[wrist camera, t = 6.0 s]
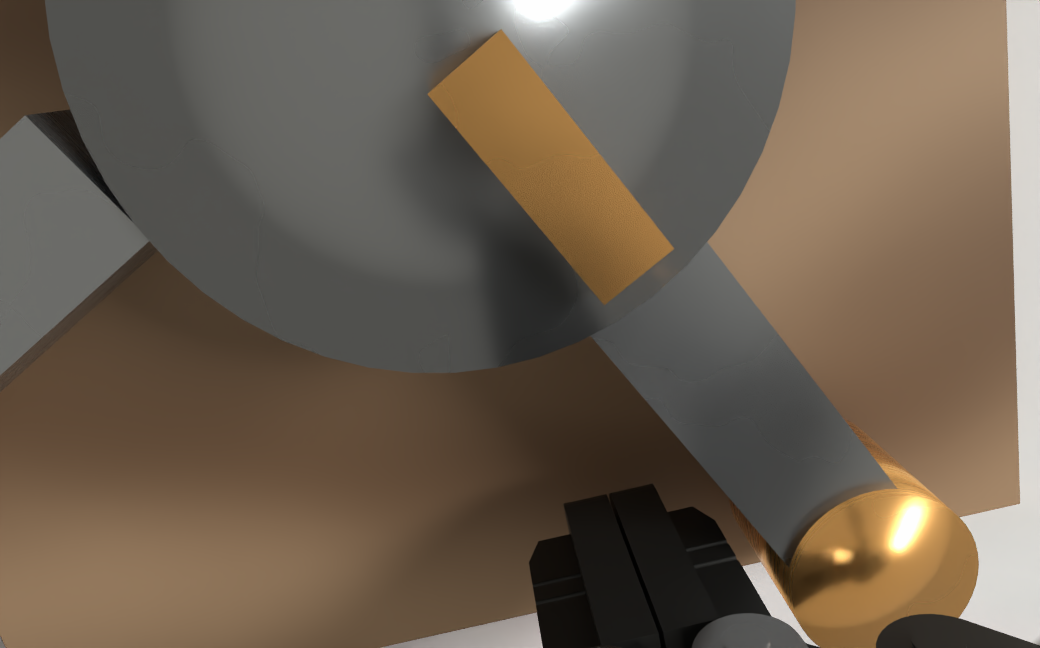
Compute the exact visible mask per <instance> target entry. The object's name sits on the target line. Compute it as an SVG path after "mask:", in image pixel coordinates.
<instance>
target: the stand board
mask: <svg viewBox="0 0 1040 648" xmlns="http://www.w3.org/2000/svg"><path fill="white" fill-rule="evenodd" d="M62 110H70V107H69V105H68V102H67V100H66V97H65V94H64V92H63V89H62V85H61V81H60V77H59V73H58V69H57V65H56V62H55V58H54V54H53V50H52V46H51V42H50V38H49V30H48V22H47V14H46V6H45V0H0V139H1V138H2V137H3V136H4V135H5V134H6V133H7V132H8V131H9V130H10V129H11V128H12V127H13V126H14V125H15V124H16V123H17V122H18V121H20V120H21V119H22V118H23V117H24V116H25V115H31V114H39V113H47V112H55V111H62ZM707 242H708V244H709V245H710V246H711V247H712V249H713V250H714V251H715V253H716V254H717V255H718V257H719V258H720V259H721V260H722V262H723V263H724V264H725V266H726V267H727V268H728V270H729V271H730V272H731V273H732V275H733V276H734V277H735V279H736V280H737V281H738V282H739V284H740V285H741V286H742V288H743V289H744V290H745V292H746V293H747V294H748V295H749V297H750V298H751V299H752V301H753V302H754V303H755V305H756V306H757V307H758V308H759V310H760V311H761V312H762V314H763V315H764V316H765V317H766V319H767V320H768V321H769V323H770V324H771V325H772V327H773V328H774V329H775V330H776V332H777V333H778V334H779V336H780V337H781V338H782V340H783V341H784V342H785V343H786V345H787V346H788V347H789V349H790V350H791V351H792V352H793V354H794V355H795V356H796V358H797V359H798V360H799V362H800V363H801V364H802V365H803V367H804V368H805V369H806V371H807V372H808V373H809V375H810V376H811V377H812V378H813V380H814V381H815V382H816V384H817V385H818V386H819V387H820V389H821V390H822V391H823V393H824V394H825V395H826V397H827V398H828V399H829V400H830V402H831V403H832V404H833V406H834V407H835V408H836V410H837V411H838V412H839V413H840V415H841V416H842V417H843V418H844V419H846V420H848V421H850V422H852V423H853V424H855V425H856V426H858V427H859V428H860V429H861V430H863V431H864V432H865V433H866V434H867V435H868V436H869V437H870V438H871V439H873V440H874V441H875V442H876V443H877V444H878V445H879V446H880V447H881V448H883V449H884V450H885V451H886V452H887V453H888V454H889V455H890V456H892V457H893V458H894V459H895V460H896V461H897V462H898V463H899V464H900V465H902V466H903V467H904V468H905V469H906V470H907V471H908V472H909V473H910V474H912V475H913V476H914V477H915V478H916V479H917V480H918V481H919V482H920V483H922V484H923V485H924V486H925V487H926V488H927V489H928V490H929V491H930V492H932V493H933V494H934V495H935V496H936V497H937V498H938V499H939V500H941V501H942V502H943V503H944V504H945V505H946V506H947V507H948V508H949V509H951V510H952V511H953V512H954V513H955V514H956V515H957V516H958V517H963V516H967V515H971V514H976V513H980V512H985V511H989V510H994V509H998V508H1003V507H1007V506H1011V505H1016V504H1020V487H1019V451H1018V414H1017V378H1016V342H1015V306H1014V270H1013V234H1012V197H1011V161H1010V125H1009V89H1008V53H1007V17H1006V0H796V12H795V21H794V29H793V38H792V47H791V56H790V62H789V67H788V71H787V75H786V79H785V83H784V88H783V92H782V96H781V100H780V104H779V108H778V111H777V114H776V117H775V119H774V122H773V125H772V127H771V130H770V133H769V136H768V138H767V141H766V144H765V146H764V149H763V152H762V154H761V156H760V158H759V160H758V162H757V164H756V166H755V168H754V170H753V172H752V174H751V176H750V178H749V180H748V182H747V183H746V185H745V187H744V189H743V191H742V193H741V195H740V196H739V198H738V199H737V201H736V202H735V204H734V205H733V207H732V208H731V210H730V211H729V213H728V214H727V216H726V217H725V219H724V220H723V222H722V223H721V225H720V226H719V228H718V229H717V231H716V232H715V233H714V234H713V236H712V237H711V238H710V239H709V240H708V241H707ZM648 484H653V485H654V486H655V488H656V490H657V492H658V494H659V496H660V498H661V500H662V502H663V504H664V506H665V508H666V510H667V512H670V511H674V510H678V509H683V508H687V507H692V506H693V507H694V508H696V509H698V510H699V511H701V512H703V513H704V514H706V515H707V516H709V517H711V518H712V519H714V520H715V521H716V523H717V524H718V526H719V528H720V529H721V531H722V533H723V535H724V536H725V538H726V540H727V543H728V544H729V545H730V547H731V548H732V550H733V552H734V553H735V555H736V559H737V560H739V562H740V564H741V565H742V566H745V565H749V564H754V563H758V562H761V561H760V559H759V558H758V556H757V554H756V553H755V551H754V550H753V548H752V546H751V545H750V543H749V542H748V540H747V538H746V537H745V535H744V533H743V532H742V530H741V529H740V527H739V525H738V524H737V522H736V520H735V518H734V516H733V513H732V510H731V507H730V502H729V497H728V496H727V495H726V494H725V493H724V491H723V490H722V489H721V488H720V487H719V485H718V484H717V483H716V482H715V481H714V480H713V478H712V477H711V476H710V475H709V474H708V473H707V471H706V470H705V469H704V468H703V467H702V466H701V464H700V463H699V462H698V461H697V460H696V459H695V457H694V456H693V455H692V454H691V453H690V452H689V450H688V449H687V448H686V447H685V446H684V445H683V443H682V442H681V441H680V440H679V439H678V438H677V436H676V435H675V434H674V433H673V432H672V431H671V429H670V428H669V427H668V426H667V425H666V424H665V422H664V421H663V420H662V419H661V418H660V417H659V415H658V414H657V413H656V412H655V411H654V410H653V408H652V407H651V406H650V405H649V404H648V403H647V401H646V400H645V399H644V398H643V397H642V396H641V394H640V393H639V392H638V391H637V390H636V389H635V387H634V386H633V385H632V384H631V383H630V382H629V380H628V379H627V378H626V377H625V376H624V374H623V373H622V372H621V371H620V370H619V369H618V367H617V366H616V365H615V364H614V363H613V362H612V360H611V359H610V358H609V357H608V356H607V355H606V353H605V352H604V351H603V350H602V349H601V348H600V346H599V345H598V344H597V343H596V342H595V341H594V339H593V338H592V337H591V336H589V337H587V338H585V339H583V340H581V341H580V342H577V343H574V344H572V345H569V346H567V347H564V348H561V349H559V350H556V351H554V352H551V353H549V354H546V355H543V356H541V357H538V358H534V359H530V360H526V361H522V362H518V363H514V364H510V365H506V366H502V367H498V368H490V369H482V370H473V371H465V372H457V373H409V372H401V371H393V370H385V369H376V368H368V367H364V366H360V365H356V364H352V363H348V362H344V361H340V360H336V359H332V358H328V357H324V356H322V355H319V354H316V353H314V352H311V351H308V350H306V349H303V348H301V347H298V346H295V345H293V344H290V343H287V342H285V341H282V340H280V339H279V338H277V337H275V336H273V335H271V334H269V333H267V332H265V331H263V330H261V329H259V328H258V327H256V326H254V325H252V324H250V323H248V322H246V321H244V320H242V319H241V318H239V317H238V316H236V315H235V314H234V313H232V312H231V311H229V310H228V309H226V308H225V307H223V306H222V305H220V304H219V303H218V302H216V301H215V300H213V299H212V298H210V297H209V296H207V295H206V294H204V293H203V292H202V291H201V290H200V289H199V288H197V287H196V286H195V285H194V284H193V283H192V282H191V281H189V280H188V279H187V278H186V277H185V276H184V275H183V274H182V273H180V272H179V271H178V270H177V269H176V268H175V267H174V266H172V265H171V264H170V263H169V262H168V261H167V260H166V259H165V258H164V257H163V256H162V254H161V253H160V252H159V251H157V252H156V253H155V254H153V255H152V256H151V257H150V258H149V259H148V260H147V261H146V262H145V263H143V264H142V265H141V266H140V267H139V268H138V269H137V270H136V271H135V272H133V273H132V274H131V275H130V276H129V277H128V278H127V279H126V280H124V281H123V282H122V283H121V284H120V285H119V286H118V287H117V288H116V289H114V290H113V291H112V292H111V293H110V294H109V295H108V296H107V297H106V298H104V299H103V300H102V301H101V302H100V303H99V304H98V305H97V306H96V307H94V308H93V309H92V310H91V311H90V312H89V313H88V314H87V315H85V316H84V317H83V318H82V319H81V320H80V321H79V322H78V323H77V324H75V325H74V326H73V327H72V328H71V329H70V330H69V331H68V332H67V333H65V334H64V335H63V336H62V337H61V338H60V339H59V340H58V341H57V342H55V343H54V344H53V345H52V346H51V347H50V348H49V349H48V350H46V351H45V352H44V353H43V354H42V355H41V356H40V357H39V358H38V359H36V360H35V361H34V362H33V363H32V364H31V365H30V366H29V367H28V368H26V369H25V370H24V371H23V372H22V373H21V374H20V375H19V376H18V377H16V378H15V379H14V380H13V381H12V382H11V383H10V384H9V385H8V386H6V387H5V388H4V389H3V390H2V391H1V392H0V636H1V638H2V641H3V643H4V645H5V647H6V648H380V647H385V646H389V645H394V644H398V643H402V642H407V641H411V640H416V639H420V638H425V637H429V636H434V635H438V634H442V633H447V632H451V631H456V630H460V629H465V628H469V627H474V626H478V625H482V624H487V623H491V622H496V621H500V620H505V619H509V618H514V617H518V616H522V615H527V614H531V613H536V612H537V609H536V602H535V597H534V591H533V585H532V579H531V573H530V567H529V561H530V559H531V556H532V554H533V552H534V550H535V548H536V545H537V543H538V541H541V540H546V539H550V538H555V537H559V536H564V535H568V534H569V530H568V525H567V520H566V516H565V511H564V505H563V504H564V503H569V502H573V501H578V500H582V499H587V498H591V497H595V496H600V495H604V494H607V496H608V499H609V501H610V498H609V493H613V492H617V491H621V490H626V489H630V488H635V487H639V486H644V485H648Z"/></svg>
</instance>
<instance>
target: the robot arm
mask: <svg viewBox="0 0 1040 648" xmlns="http://www.w3.org/2000/svg"><path fill="white" fill-rule="evenodd" d="M609 498H610V501H609V499H608V496H607V494H604V495H600V496H595V497H591V498H587V499H582V500H578V501H573V502H569V503H564V504H563V505H564V511H565V516H566V520H567V525H568V530H569V534H568V535H564V536H559V537H555V538H550V539H546V540H541V541H538V543H537V545H536V548H535V550H534V552H533V554H532V556H531V559H530V561H529V567H530V573H531V579H532V585H533V591H534V597H535V602H536V609H537V615H538V621H539V627H540V633H541V639H542V645H543V648H821V647H817V646H813V645H809V644H807V643H805V642H804V641H803V639H802V638H801V637H800V635H799V634H798V633H797V632H796V631H795V630H794V629H793V628H792V627H791V626H789V625H788V624H786V623H785V622H783V621H781V620H779V619H776V618H774V617H771V615H770V613H769V612H768V610H767V608H766V606H765V605H764V603H763V601H762V600H761V598H760V596H759V594H758V593H757V591H756V589H755V588H754V586H753V584H752V582H751V581H750V579H749V577H748V576H747V574H746V572H745V571H744V569H743V567H742V565H741V564H740V562H739V560H737V559H736V555H735V553H734V552H733V550H732V548H731V547H730V545H729V544H728V543H727V540H726V538H725V536H724V535H723V533H722V531H721V529H720V528H719V526H718V524H717V523H716V521H715V520H714V519H712V518H711V517H709V516H707V515H706V514H704V513H703V512H701V511H699V510H698V509H696V508H694V507H693V506H692V507H687V508H683V509H678V510H674V511H670V512H667V510H666V508H665V506H664V504H663V502H662V500H661V498H660V496H659V494H658V492H657V490H656V488H655V486H654V485H653V484H648V485H644V486H639V487H635V488H630V489H626V490H621V491H617V492H613V493H609ZM876 648H1040V646H1039V645H1036V644H1033V643H1030V642H1028V641H1025V640H1022V639H1019V638H1016V637H1013V636H1010V635H1007V634H1004V633H1001V632H998V631H995V630H992V629H989V628H986V627H983V626H980V625H977V624H975V623H972V622H969V621H966V620H963V619H959V618H956V617H952V616H946V615H939V614H918V615H911V616H907V617H904V618H901V619H898V620H896V621H894V622H892V623H891V624H889V625H887V626H886V627H885V628H884V629H883V630H882V631H881V633H880V634H879V636H878V638H877V642H876Z"/></svg>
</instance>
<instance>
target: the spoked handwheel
mask: <svg viewBox="0 0 1040 648" xmlns="http://www.w3.org/2000/svg"><path fill="white" fill-rule="evenodd" d="M45 6H46V14H47V22H48V30H49V38H50V42H51V46H52V50H53V54H54V58H55V62H56V65H57V69H58V73H59V77H60V81H61V85H62V89H63V92H64V94H65V97H66V100H67V102H68V105H69V107H70V110H62V111H55V112H47V113H39V114H31V115H25V116H24V117H23V118H22V119H21V120H20V121H18V122H17V123H16V124H15V125H14V126H13V127H12V128H11V129H10V130H9V131H8V132H7V133H6V134H5V135H4V136H3V137H2V138H1V139H0V392H1V391H2V390H3V389H4V388H5V387H6V386H8V385H9V384H10V383H11V382H12V381H13V380H14V379H15V378H16V377H18V376H19V375H20V374H21V373H22V372H23V371H24V370H25V369H26V368H28V367H29V366H30V365H31V364H32V363H33V362H34V361H35V360H36V359H38V358H39V357H40V356H41V355H42V354H43V353H44V352H45V351H46V350H48V349H49V348H50V347H51V346H52V345H53V344H54V343H55V342H57V341H58V340H59V339H60V338H61V337H62V336H63V335H64V334H65V333H67V332H68V331H69V330H70V329H71V328H72V327H73V326H74V325H75V324H77V323H78V322H79V321H80V320H81V319H82V318H83V317H84V316H85V315H87V314H88V313H89V312H90V311H91V310H92V309H93V308H94V307H96V306H97V305H98V304H99V303H100V302H101V301H102V300H103V299H104V298H106V297H107V296H108V295H109V294H110V293H111V292H112V291H113V290H114V289H116V288H117V287H118V286H119V285H120V284H121V283H122V282H123V281H124V280H126V279H127V278H128V277H129V276H130V275H131V274H132V273H133V272H135V271H136V270H137V269H138V268H139V267H140V266H141V265H142V264H143V263H145V262H146V261H147V260H148V259H149V258H150V257H151V256H152V255H153V254H155V253H156V252H157V251H159V252H160V253H161V254H162V256H163V257H164V258H165V259H166V260H167V261H168V262H169V263H170V264H171V265H172V266H174V267H175V268H176V269H177V270H178V271H179V272H180V273H182V274H183V275H184V276H185V277H186V278H187V279H188V280H189V281H191V282H192V283H193V284H194V285H195V286H196V287H197V288H199V289H200V290H201V291H202V292H203V293H204V294H206V295H207V296H209V297H210V298H212V299H213V300H215V301H216V302H218V303H219V304H220V305H222V306H223V307H225V308H226V309H228V310H229V311H231V312H232V313H234V314H235V315H236V316H238V317H239V318H241V319H242V320H244V321H246V322H248V323H250V324H252V325H254V326H256V327H258V328H259V329H261V330H263V331H265V332H267V333H269V334H271V335H273V336H275V337H277V338H279V339H280V340H282V341H285V342H287V343H290V344H293V345H295V346H298V347H301V348H303V349H306V350H308V351H311V352H314V353H316V354H319V355H322V356H324V357H328V358H332V359H336V360H340V361H344V362H348V363H352V364H356V365H360V366H364V367H368V368H376V369H385V370H393V371H401V372H409V373H457V372H465V371H473V370H482V369H490V368H498V367H502V366H506V365H510V364H514V363H518V362H522V361H526V360H530V359H534V358H538V357H541V356H543V355H546V354H549V353H551V352H554V351H556V350H559V349H561V348H564V347H567V346H569V345H572V344H574V343H577V342H580V341H581V340H583V339H585V338H587V337H589V336H591V337H592V338H593V339H594V341H595V342H596V343H597V344H598V345H599V346H600V348H601V349H602V350H603V351H604V352H605V353H606V355H607V356H608V357H609V358H610V359H611V360H612V362H613V363H614V364H615V365H616V366H617V367H618V369H619V370H620V371H621V372H622V373H623V374H624V376H625V377H626V378H627V379H628V380H629V382H630V383H631V384H632V385H633V386H634V387H635V389H636V390H637V391H638V392H639V393H640V394H641V396H642V397H643V398H644V399H645V400H646V401H647V403H648V404H649V405H650V406H651V407H652V408H653V410H654V411H655V412H656V413H657V414H658V415H659V417H660V418H661V419H662V420H663V421H664V422H665V424H666V425H667V426H668V427H669V428H670V429H671V431H672V432H673V433H674V434H675V435H676V436H677V438H678V439H679V440H680V441H681V442H682V443H683V445H684V446H685V447H686V448H687V449H688V450H689V452H690V453H691V454H692V455H693V456H694V457H695V459H696V460H697V461H698V462H699V463H700V464H701V466H702V467H703V468H704V469H705V470H706V471H707V473H708V474H709V475H710V476H711V477H712V478H713V480H714V481H715V482H716V483H717V484H718V485H719V487H720V488H721V489H722V490H723V491H724V493H725V494H726V495H727V496H728V497H729V502H730V507H731V510H732V513H733V516H734V518H735V520H736V522H737V524H738V525H739V527H740V529H741V530H742V532H743V533H744V535H745V537H746V538H747V540H748V542H749V543H750V545H751V546H752V548H753V550H754V551H755V553H756V554H757V556H758V558H759V559H760V561H761V563H762V564H763V566H764V567H765V569H766V571H767V572H768V574H769V575H770V577H771V579H772V580H773V582H774V584H775V585H776V587H777V588H778V590H779V592H780V593H781V595H782V596H783V598H784V600H785V601H786V603H787V605H788V606H789V608H790V609H791V611H792V613H793V614H794V616H795V617H796V619H797V621H798V622H799V624H800V626H801V627H802V629H803V630H804V631H805V633H806V634H807V635H808V637H809V638H810V639H811V640H812V641H813V642H814V643H815V644H816V645H818V646H819V647H821V648H876V642H877V638H878V636H879V634H880V633H881V631H882V630H883V629H884V628H885V627H886V626H887V625H889V624H891V623H892V622H894V621H896V620H898V619H901V618H904V617H907V616H911V615H918V614H939V615H946V616H952V617H956V618H959V617H960V615H961V614H962V612H963V611H964V609H965V608H966V606H967V604H968V602H969V600H970V598H971V596H972V594H973V591H974V588H975V585H976V581H977V576H978V565H979V563H978V552H977V548H976V544H975V541H974V539H973V536H972V534H971V532H970V531H969V529H968V528H967V526H966V524H965V523H964V522H963V521H962V520H961V519H960V518H959V517H958V516H957V515H956V514H955V513H954V512H953V511H952V510H951V509H949V508H948V507H947V506H946V505H945V504H944V503H943V502H942V501H941V500H939V499H938V498H937V497H936V496H935V495H934V494H933V493H932V492H930V491H929V490H928V489H927V488H926V487H925V486H924V485H923V484H922V483H920V482H919V481H918V480H917V479H916V478H915V477H914V476H913V475H912V474H910V473H909V472H908V471H907V470H906V469H905V468H904V467H903V466H902V465H900V464H899V463H898V462H897V461H896V460H895V459H894V458H893V457H892V456H890V455H889V454H888V453H887V452H886V451H885V450H884V449H883V448H881V447H880V446H879V445H878V444H877V443H876V442H875V441H874V440H873V439H871V438H870V437H869V436H868V435H867V434H866V433H865V432H864V431H863V430H861V429H860V428H859V427H858V426H856V425H855V424H853V423H852V422H850V421H848V420H846V419H844V418H843V417H842V416H841V415H840V413H839V412H838V411H837V410H836V408H835V407H834V406H833V404H832V403H831V402H830V400H829V399H828V398H827V397H826V395H825V394H824V393H823V391H822V390H821V389H820V387H819V386H818V385H817V384H816V382H815V381H814V380H813V378H812V377H811V376H810V375H809V373H808V372H807V371H806V369H805V368H804V367H803V365H802V364H801V363H800V362H799V360H798V359H797V358H796V356H795V355H794V354H793V352H792V351H791V350H790V349H789V347H788V346H787V345H786V343H785V342H784V341H783V340H782V338H781V337H780V336H779V334H778V333H777V332H776V330H775V329H774V328H773V327H772V325H771V324H770V323H769V321H768V320H767V319H766V317H765V316H764V315H763V314H762V312H761V311H760V310H759V308H758V307H757V306H756V305H755V303H754V302H753V301H752V299H751V298H750V297H749V295H748V294H747V293H746V292H745V290H744V289H743V288H742V286H741V285H740V284H739V282H738V281H737V280H736V279H735V277H734V276H733V275H732V273H731V272H730V271H729V270H728V268H727V267H726V266H725V264H724V263H723V262H722V260H721V259H720V258H719V257H718V255H717V254H716V253H715V251H714V250H713V249H712V247H711V246H710V245H709V244H708V242H707V241H708V240H709V239H710V238H711V237H712V236H713V234H714V233H715V232H716V231H717V229H718V228H719V226H720V225H721V223H722V222H723V220H724V219H725V217H726V216H727V214H728V213H729V211H730V210H731V208H732V207H733V205H734V204H735V202H736V201H737V199H738V198H739V196H740V195H741V193H742V191H743V189H744V187H745V185H746V183H747V182H748V180H749V178H750V176H751V174H752V172H753V170H754V168H755V166H756V164H757V162H758V160H759V158H760V156H761V154H762V152H763V149H764V146H765V144H766V141H767V138H768V136H769V133H770V130H771V127H772V125H773V122H774V119H775V117H776V114H777V111H778V108H779V104H780V100H781V96H782V92H783V88H784V83H785V79H786V75H787V71H788V67H789V62H790V56H791V47H792V38H793V29H794V21H795V12H796V0H45Z"/></svg>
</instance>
